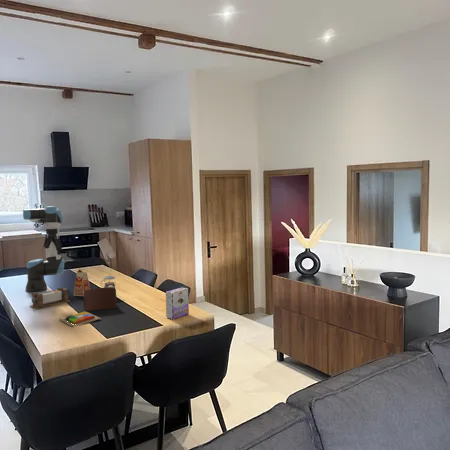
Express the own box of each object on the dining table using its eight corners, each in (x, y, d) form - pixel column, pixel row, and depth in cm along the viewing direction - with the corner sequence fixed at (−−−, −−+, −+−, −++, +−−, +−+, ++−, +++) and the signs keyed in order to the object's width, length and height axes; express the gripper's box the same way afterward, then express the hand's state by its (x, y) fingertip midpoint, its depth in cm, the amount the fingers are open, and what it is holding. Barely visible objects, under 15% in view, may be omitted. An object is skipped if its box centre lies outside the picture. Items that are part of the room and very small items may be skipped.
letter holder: (116, 308, 278) (116, 286, 277) (84, 311, 271) (83, 289, 270) (115, 304, 288) (114, 283, 286) (84, 307, 281) (83, 286, 279)
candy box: (182, 312, 266) (181, 286, 265) (189, 314, 262) (188, 288, 261) (165, 318, 256) (165, 291, 254) (172, 320, 252) (172, 292, 250)
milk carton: (84, 296, 309) (83, 268, 307) (73, 295, 310) (71, 268, 309) (91, 293, 317) (90, 266, 316) (79, 292, 319) (78, 266, 317)
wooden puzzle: (58, 321, 253) (58, 315, 253) (88, 314, 266) (88, 309, 266) (71, 328, 240) (71, 322, 240) (102, 320, 253) (102, 315, 253)
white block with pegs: (31, 304, 280) (30, 295, 279) (64, 296, 299) (64, 288, 298) (34, 305, 277) (34, 296, 277) (68, 297, 296) (68, 289, 295)
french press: (113, 298, 301) (112, 263, 299) (98, 297, 304) (96, 263, 301) (119, 295, 311) (118, 261, 309) (104, 294, 313) (103, 260, 311)
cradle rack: (29, 306, 282) (29, 293, 281) (63, 299, 301) (62, 286, 300) (37, 309, 276) (36, 295, 275) (70, 301, 295) (70, 288, 294)
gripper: (37, 227, 304) (38, 257, 306) (56, 229, 288) (57, 260, 290) (47, 226, 310) (48, 255, 312) (66, 228, 294) (67, 259, 296)
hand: (53, 258), depth 301 cm, fingers open, 13 cm apart
